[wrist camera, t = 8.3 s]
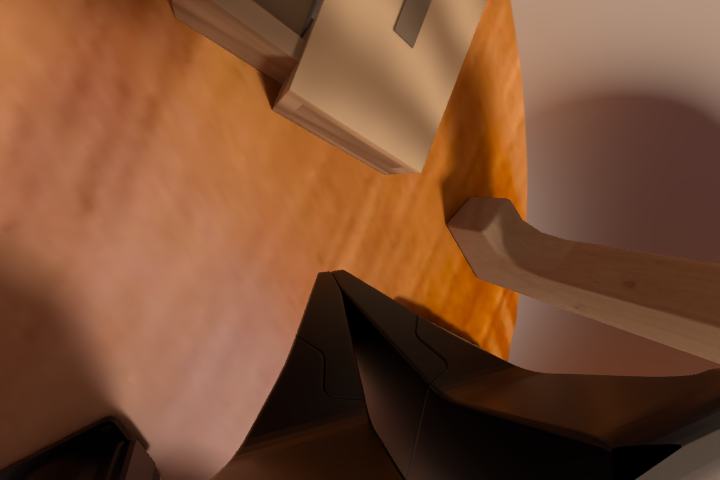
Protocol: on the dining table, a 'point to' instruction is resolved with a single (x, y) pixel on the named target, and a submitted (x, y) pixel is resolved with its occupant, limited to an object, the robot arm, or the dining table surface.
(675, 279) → the wooden block
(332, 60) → the box with sliding lid
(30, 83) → the dining table surface
